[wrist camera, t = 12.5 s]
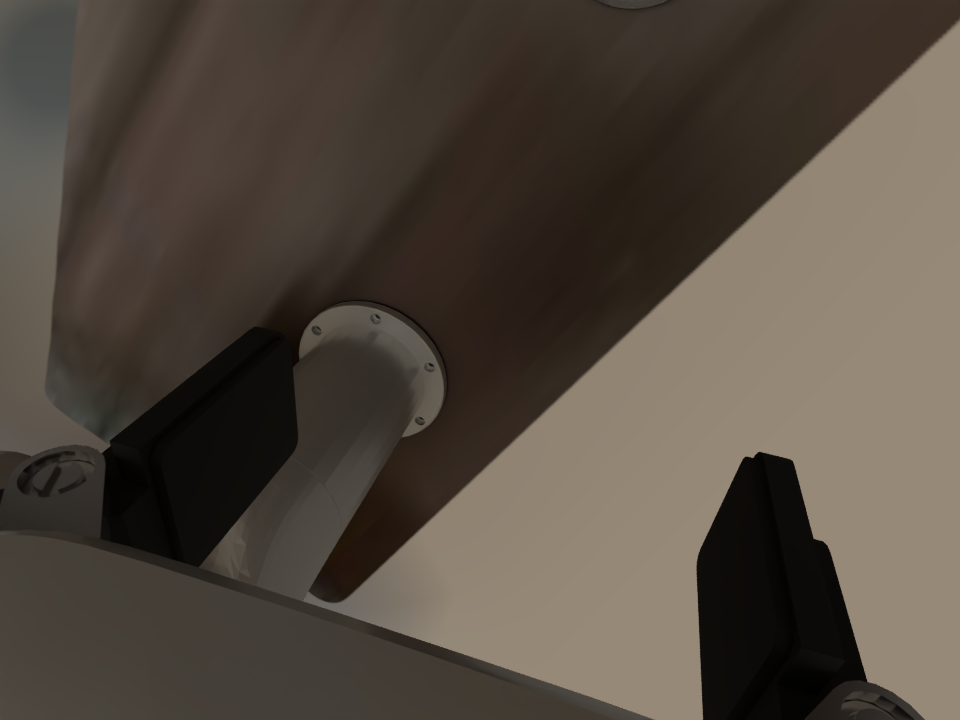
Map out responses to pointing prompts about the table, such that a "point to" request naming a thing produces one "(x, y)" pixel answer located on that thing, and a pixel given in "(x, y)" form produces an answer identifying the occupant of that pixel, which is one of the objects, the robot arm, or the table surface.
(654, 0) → the stand
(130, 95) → the table surface
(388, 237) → the table surface
